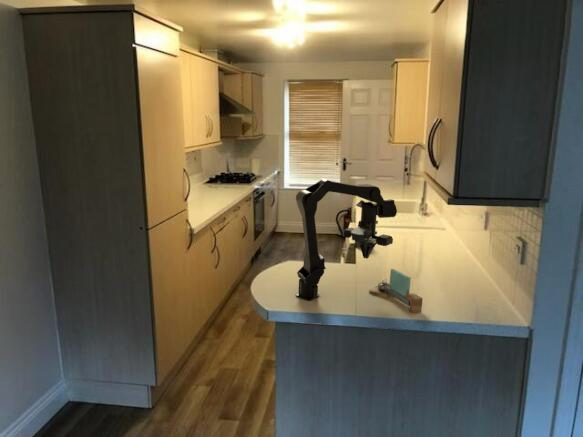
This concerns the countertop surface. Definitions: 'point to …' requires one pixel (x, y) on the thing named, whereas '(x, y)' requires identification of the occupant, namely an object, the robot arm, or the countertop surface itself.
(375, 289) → the pintle block
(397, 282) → the link
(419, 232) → the countertop surface
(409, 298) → the block
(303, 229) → the robot arm
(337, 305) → the countertop surface
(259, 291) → the countertop surface
